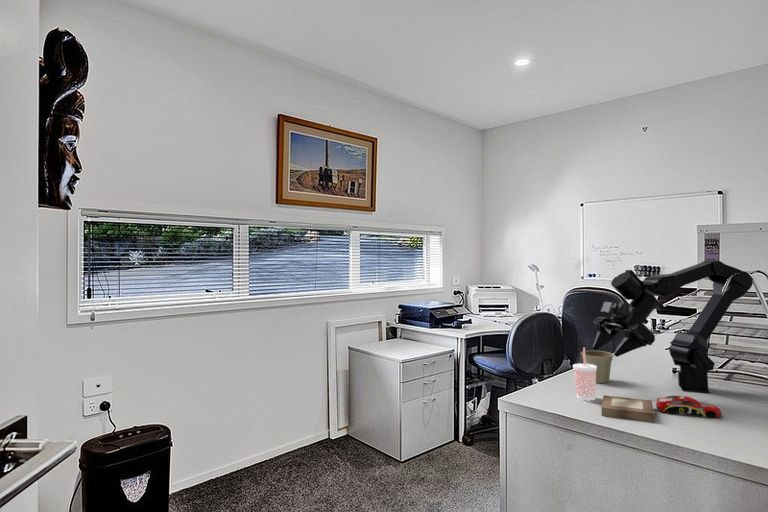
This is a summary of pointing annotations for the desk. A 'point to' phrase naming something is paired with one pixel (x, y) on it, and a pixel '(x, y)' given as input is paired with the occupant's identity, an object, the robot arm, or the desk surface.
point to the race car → (687, 406)
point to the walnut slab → (627, 408)
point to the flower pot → (600, 364)
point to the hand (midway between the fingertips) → (603, 352)
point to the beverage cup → (585, 380)
